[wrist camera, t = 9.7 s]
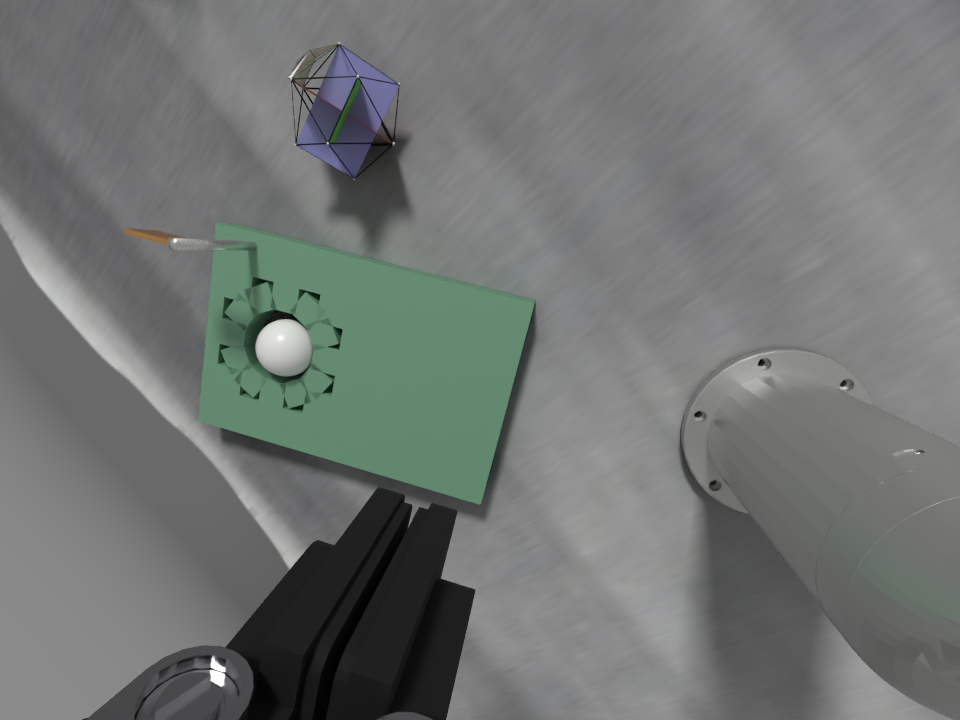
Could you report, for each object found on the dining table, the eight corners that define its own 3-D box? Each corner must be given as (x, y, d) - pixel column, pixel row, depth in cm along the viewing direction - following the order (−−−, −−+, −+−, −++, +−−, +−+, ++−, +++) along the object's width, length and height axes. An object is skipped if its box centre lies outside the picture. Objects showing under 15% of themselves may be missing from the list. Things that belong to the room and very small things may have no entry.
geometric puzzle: (444, 111, 31) (340, 28, 25) (396, 206, 33) (288, 150, 27) (392, 88, 35) (292, 12, 29) (352, 173, 37) (249, 118, 31)
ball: (287, 330, 33) (245, 313, 35) (279, 388, 34) (239, 369, 36) (333, 327, 37) (293, 311, 38) (324, 379, 38) (286, 362, 40)
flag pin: (276, 242, 37) (178, 239, 27) (275, 251, 37) (178, 251, 27) (234, 232, 37) (123, 224, 27) (234, 241, 37) (123, 236, 28)
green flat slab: (535, 300, 35) (534, 304, 32) (485, 489, 39) (480, 504, 36) (238, 224, 37) (216, 222, 35) (219, 411, 41) (198, 420, 38)
